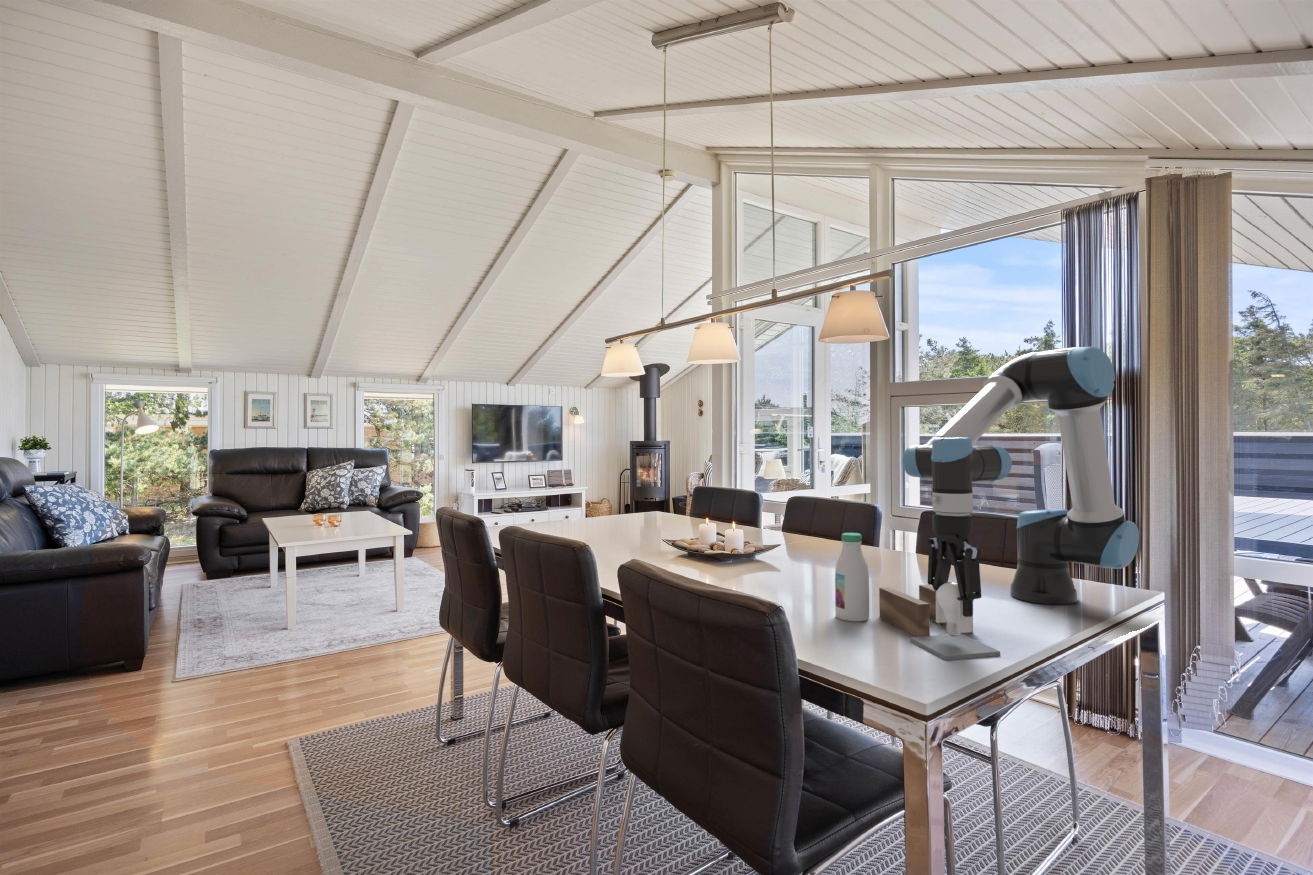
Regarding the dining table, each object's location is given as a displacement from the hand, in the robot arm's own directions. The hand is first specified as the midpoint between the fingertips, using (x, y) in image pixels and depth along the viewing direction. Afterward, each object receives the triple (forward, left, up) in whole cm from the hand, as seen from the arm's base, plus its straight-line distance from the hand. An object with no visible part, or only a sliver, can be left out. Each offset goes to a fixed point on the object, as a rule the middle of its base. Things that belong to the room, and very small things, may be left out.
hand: (953, 626), depth 134 cm
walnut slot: (-4, -16, -4) cm, 17 cm away
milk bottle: (+9, -25, -5) cm, 27 cm away
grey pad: (0, 0, -4) cm, 4 cm away
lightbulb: (0, 0, -2) cm, 2 cm away
